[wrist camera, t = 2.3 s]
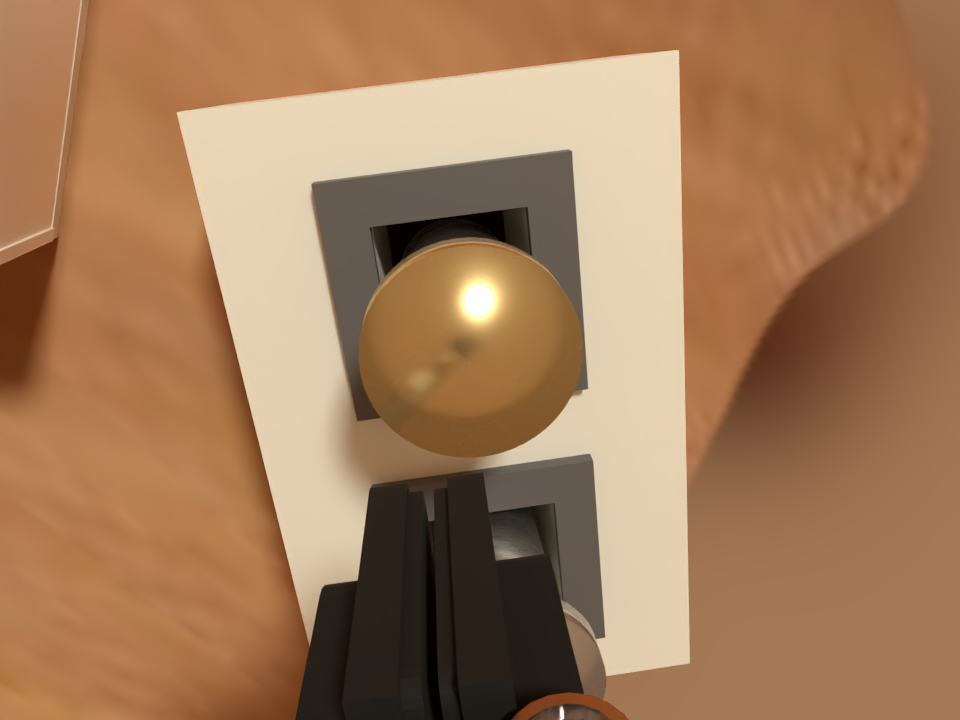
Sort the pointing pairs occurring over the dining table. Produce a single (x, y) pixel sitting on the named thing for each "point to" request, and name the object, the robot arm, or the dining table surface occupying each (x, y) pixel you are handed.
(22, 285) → the dining table surface
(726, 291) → the dining table surface
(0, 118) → the butter dish
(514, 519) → the grey peg
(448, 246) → the brass-capped peg
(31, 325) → the dining table surface
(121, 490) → the dining table surface
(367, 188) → the socket block
